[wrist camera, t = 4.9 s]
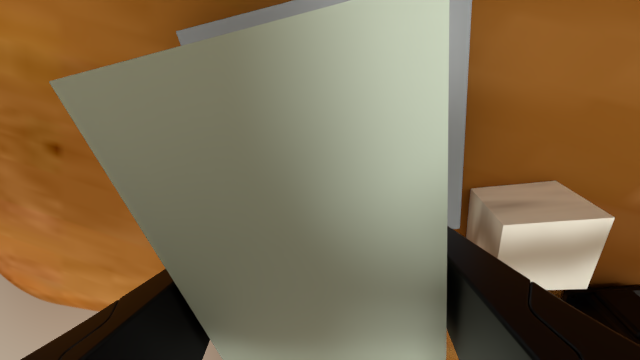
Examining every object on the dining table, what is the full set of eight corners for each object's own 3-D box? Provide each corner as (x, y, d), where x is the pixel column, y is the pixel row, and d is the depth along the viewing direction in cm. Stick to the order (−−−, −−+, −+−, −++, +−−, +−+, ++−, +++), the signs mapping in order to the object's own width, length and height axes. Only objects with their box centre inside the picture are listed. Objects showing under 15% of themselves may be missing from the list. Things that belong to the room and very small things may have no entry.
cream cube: (539, 241, 22) (586, 288, 18) (464, 245, 23) (492, 291, 19) (554, 179, 19) (614, 217, 15) (470, 187, 20) (503, 225, 16)
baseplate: (455, 221, 22) (460, 229, 21) (260, 238, 25) (256, 246, 24) (466, -41, 14) (475, -48, 13) (184, 32, 17) (174, 31, 16)
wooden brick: (416, 313, 12) (445, 426, 8) (284, 318, 13) (259, 418, 9) (397, 15, 7) (449, -27, 3) (183, 68, 8) (48, 81, 4)
